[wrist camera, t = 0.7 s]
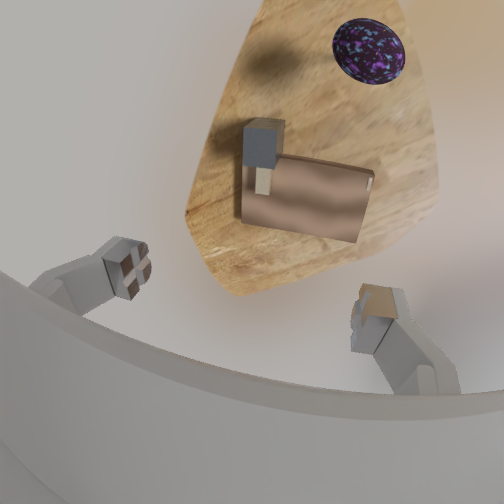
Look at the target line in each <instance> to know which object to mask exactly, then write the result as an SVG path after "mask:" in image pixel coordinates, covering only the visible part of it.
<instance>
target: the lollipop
mask: <svg viewBox="0 0 504 504" xmlns="http://www.w3.org/2000/svg"><path fill="white" fill-rule="evenodd" d="M332 48H333V54H334V57H335V59H336V61H337V63H338V65H339V66H340V67H341V69H342V70H343V71H344V72H345V73H346V74H348V75H349V76H350V77H352V78H354V79H355V80H357V81H360V82H362V83H366V84H372V85H378V84H385V83H388V82H390V81H392V80H394V79H395V78H396V77H397V76H398V75H399V74H400V73H401V71H402V69H403V67H404V64H405V51H404V47H403V45H402V42H401V41H400V39H399V37H398V36H397V35H396V34H395V33H394V31H392V30H391V29H390V28H389V27H388V26H386V25H384V24H383V23H381V22H378V21H376V20H372V19H367V18H358V19H353V20H350V21H348V22H346V23H344V24H343V25H341V26H340V27H339V29H338V30H337V31H336V33H335V35H334V38H333V43H332Z"/></svg>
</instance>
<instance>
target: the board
mask: <svg viewBox="0 0 504 504" xmlns="http://www.w3.org/2000/svg"><path fill="white" fill-rule="evenodd" d="M374 177H375V175H374V172H373V170H369V169H364V168H360V167H355V166H350V165H345V164H340V163H335V162H330V161H324V160H319V159H313V158H307V157H300V156H294V155H287V154H282V155H281V157H280V159H279V161H278V163H277V165H276V168H275V170H273V169H272V182H271V192H270V194H269V195H263V194H256V193H255V188H256V167H250V166H243V161H242V213H241V223H244V224H250V225H256V226H262V227H268V228H274V229H280V230H286V231H291V232H297V233H303V234H308V235H314V236H319V237H325V238H330V239H335V240H341V241H346V242H351V243H356V241H357V238H358V235H359V232H360V228H361V225H362V222H363V218H364V215H365V211H366V208H367V204H368V200H369V197H370V193H371V189H372V185H373V181H374Z"/></svg>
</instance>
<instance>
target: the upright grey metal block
mask: <svg viewBox="0 0 504 504" xmlns="http://www.w3.org/2000/svg"><path fill="white" fill-rule="evenodd" d="M284 129H285V120H279V119H269V118H258V117H257V118H255V119H254V120H253V121H251V122H250V123H249V124H247V125H246V126H244V127H243V166H250V167H256V188H255V193H256V194H263V195H269V194H270V192H271V182H272V169H273V170H275V168H276V165H277V163H278V161H279V159H280V157H281V155H282V153H283V141H284Z"/></svg>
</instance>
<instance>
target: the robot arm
mask: <svg viewBox="0 0 504 504" xmlns="http://www.w3.org/2000/svg"><path fill="white" fill-rule="evenodd" d="M148 252H149V250H148V246H147V244H146V243H145V242H141V241H137V240H132V239H128V238H124V237H119V236H115V237H112V238H111V239H110V240H109V241H108V242H106V243H105V244H104V245H103V246H102V247H101V248H100V249H98V250H97V251H96V252H95V253H94V254H93V255H91V256H90V255H87V256H85V257H82V258H79V259H76V260H74V261H71V262H69V263H66V264H63V265H61V266H58V267H55V268H53V269H50V270H48V271H45V272H44V273H43V274H41V275H40V276H39V277H38V278H37V279H36V280H35V281H34V282H33V283H32V284H31V285H30V286H29V287H28V288H27V287H25V286H24V285H22V284H21V283H19V282H17V281H16V280H14V279H13V278H11V277H9V276H8V275H6V274H5V273H3V272H2V271H0V504H504V390H498V391H491V392H482V393H471V394H461V390H460V385H459V380H458V376H457V371H456V367H455V365H454V364H453V363H452V361H451V360H450V359H449V358H448V357H447V356H446V355H445V353H444V352H443V351H442V350H441V349H440V348H439V347H438V346H437V345H436V343H435V342H434V341H433V340H432V339H431V338H430V337H429V336H428V334H426V332H425V331H424V330H423V329H422V328H421V327H420V326H419V325H418V324H417V323H416V322H413V321H412V319H411V315H410V311H409V308H408V304H407V300H406V297H405V293H404V290H403V289H400V288H392V287H383V286H377V285H371V284H364V283H363V284H362V286H361V288H360V291H359V300H357V301H356V302H355V304H354V307H353V310H352V314H351V328H352V329H353V333H352V335H351V351H352V352H358V353H365V354H371V355H373V357H374V358H375V360H376V362H377V364H378V365H379V367H380V369H381V370H382V372H383V374H384V375H385V377H386V379H387V381H388V382H389V384H390V386H391V388H392V389H393V391H394V394H393V395H389V394H374V393H361V392H351V391H342V390H332V389H326V388H318V387H312V386H305V385H299V384H293V383H288V382H282V381H278V380H272V379H268V378H262V377H258V376H254V375H249V374H245V373H241V372H237V371H232V370H229V369H225V368H221V367H217V366H214V365H211V364H207V363H204V362H200V361H196V360H194V359H190V358H187V357H184V356H181V355H178V354H175V353H172V352H168V351H166V350H163V349H160V348H157V347H154V346H151V345H149V344H146V343H143V342H141V341H138V340H136V339H133V338H130V337H128V336H125V335H123V334H120V333H118V332H115V331H113V330H111V329H109V328H106V327H104V326H102V325H99V324H97V323H95V322H93V321H91V320H88V319H86V318H84V317H82V316H83V315H84V314H86V313H88V312H89V311H91V310H93V309H94V308H96V307H98V306H100V305H101V304H103V303H105V302H107V301H108V300H110V299H112V298H113V297H115V296H117V297H120V298H124V299H127V300H130V301H131V300H132V299H133V298H134V296H135V295H136V294H137V293H138V292H139V290H140V289H139V286H140V285H142V284H145V283H146V282H147V280H148V279H149V277H150V274H151V268H152V266H151V261H150V260H149V259H148V257H147V254H148Z"/></svg>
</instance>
